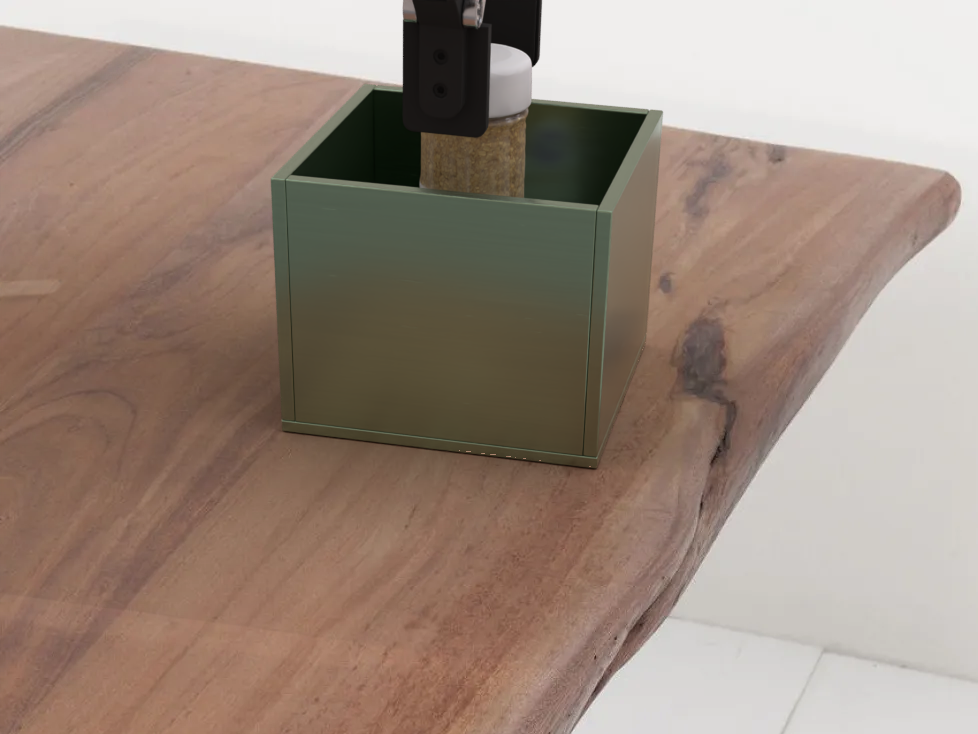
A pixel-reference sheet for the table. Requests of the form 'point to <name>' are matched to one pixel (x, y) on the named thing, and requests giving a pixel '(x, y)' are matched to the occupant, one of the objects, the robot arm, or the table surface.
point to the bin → (465, 284)
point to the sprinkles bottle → (487, 136)
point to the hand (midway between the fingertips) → (474, 96)
